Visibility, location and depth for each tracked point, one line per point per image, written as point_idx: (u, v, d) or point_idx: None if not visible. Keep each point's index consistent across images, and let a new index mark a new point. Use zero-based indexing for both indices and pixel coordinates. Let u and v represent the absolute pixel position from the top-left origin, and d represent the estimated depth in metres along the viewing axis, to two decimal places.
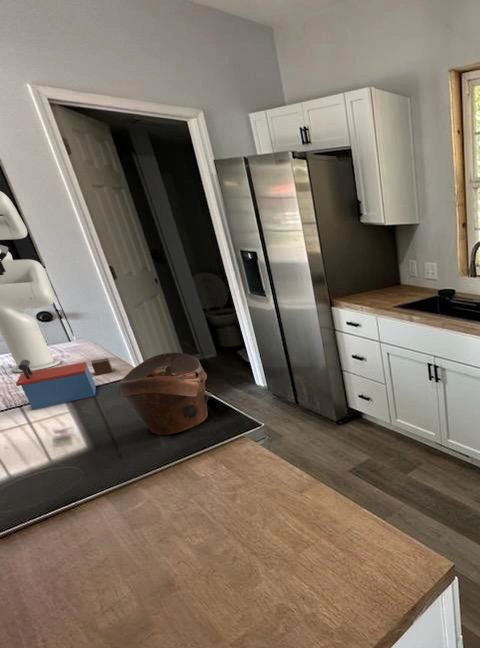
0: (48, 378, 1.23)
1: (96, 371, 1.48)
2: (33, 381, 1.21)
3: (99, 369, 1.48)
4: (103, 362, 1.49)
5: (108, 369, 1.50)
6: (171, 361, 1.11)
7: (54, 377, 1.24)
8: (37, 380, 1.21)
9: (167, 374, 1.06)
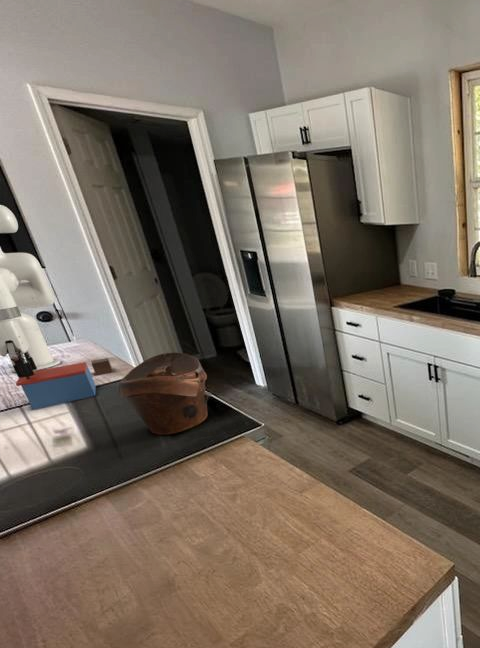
0: (48, 378, 1.23)
1: (96, 371, 1.48)
2: (33, 381, 1.21)
3: (99, 369, 1.48)
4: (103, 362, 1.49)
5: (108, 369, 1.50)
6: (171, 361, 1.11)
7: (54, 377, 1.24)
8: (37, 380, 1.21)
9: (167, 374, 1.06)
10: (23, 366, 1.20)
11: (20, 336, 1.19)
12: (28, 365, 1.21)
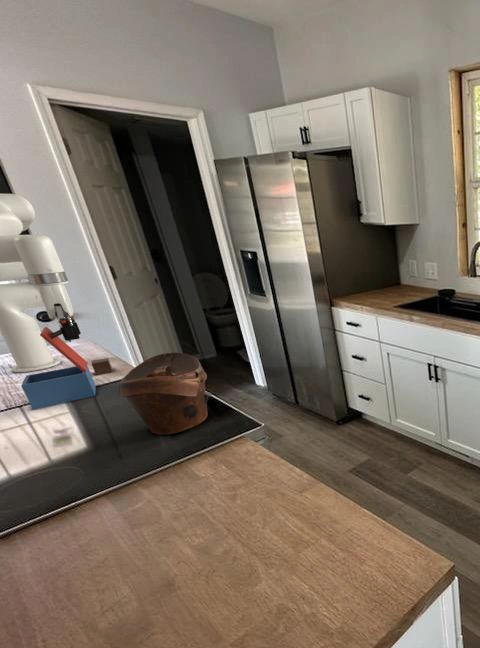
0: (62, 351, 1.23)
1: (96, 371, 1.48)
2: (52, 343, 1.22)
3: (99, 369, 1.48)
4: (103, 362, 1.49)
5: (108, 369, 1.50)
6: (171, 361, 1.11)
7: (65, 355, 1.24)
8: (55, 345, 1.22)
9: (167, 374, 1.06)
10: (70, 329, 1.24)
11: (67, 300, 1.23)
12: (74, 328, 1.25)
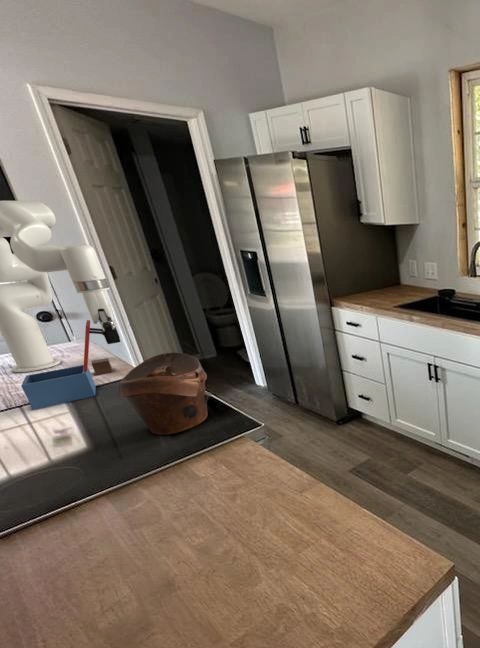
0: (87, 347, 1.27)
1: (96, 371, 1.48)
2: (87, 337, 1.26)
3: (99, 369, 1.48)
4: (103, 362, 1.49)
5: (108, 369, 1.50)
6: (171, 361, 1.11)
7: (86, 351, 1.27)
8: (87, 340, 1.26)
9: (167, 374, 1.06)
10: (112, 333, 1.31)
11: (109, 305, 1.30)
12: (116, 332, 1.32)
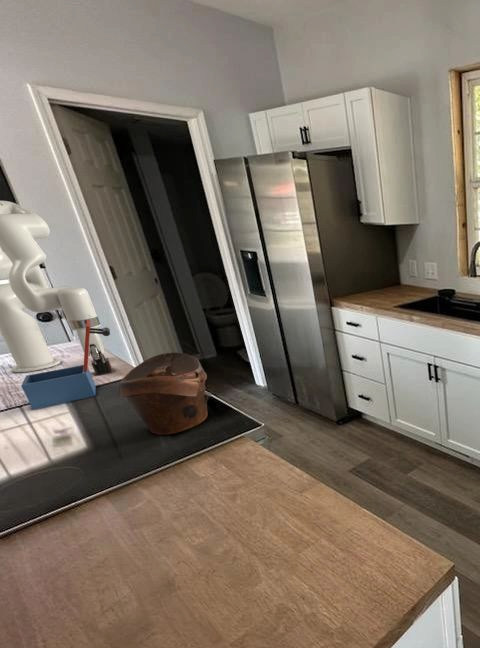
0: (87, 347, 1.27)
1: (96, 371, 1.48)
2: (87, 337, 1.26)
3: None
4: None
5: None
6: (171, 361, 1.11)
7: (86, 351, 1.27)
8: (87, 340, 1.26)
9: (167, 374, 1.06)
10: (102, 365, 1.48)
11: (100, 340, 1.46)
12: (106, 364, 1.49)
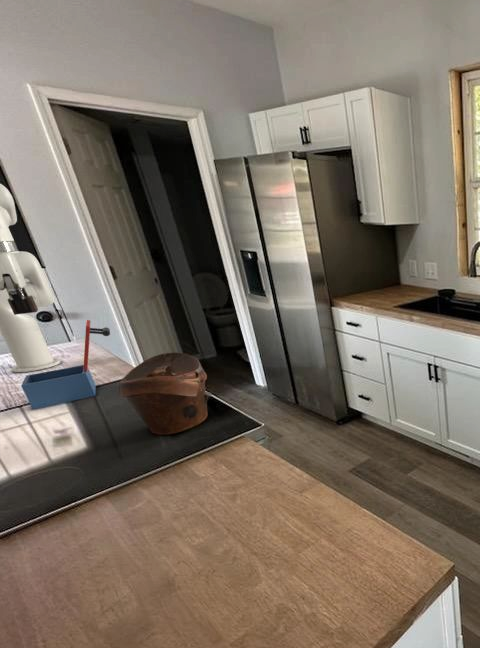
0: (87, 347, 1.27)
1: (14, 310, 1.20)
2: (87, 337, 1.26)
3: None
4: None
5: None
6: (171, 361, 1.11)
7: (86, 351, 1.27)
8: (87, 340, 1.26)
9: (167, 374, 1.06)
10: (21, 302, 1.20)
11: (17, 271, 1.18)
12: (27, 301, 1.21)
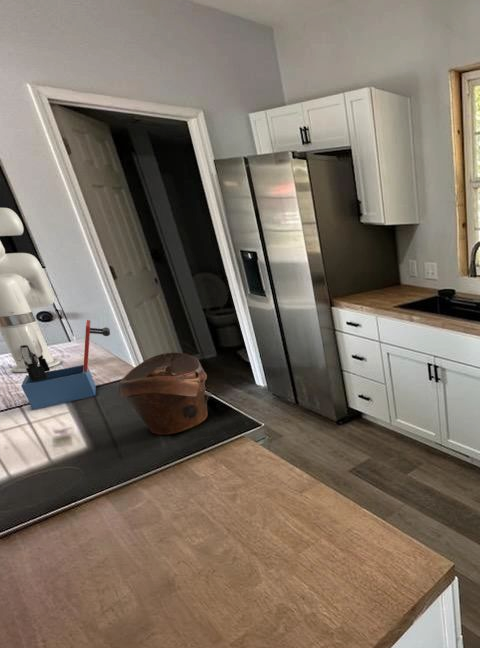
0: (87, 347, 1.27)
1: None
2: (87, 337, 1.26)
3: None
4: None
5: None
6: (171, 361, 1.11)
7: (86, 351, 1.27)
8: (87, 340, 1.26)
9: (167, 374, 1.06)
10: (36, 369, 1.21)
11: (35, 341, 1.21)
12: (42, 368, 1.22)
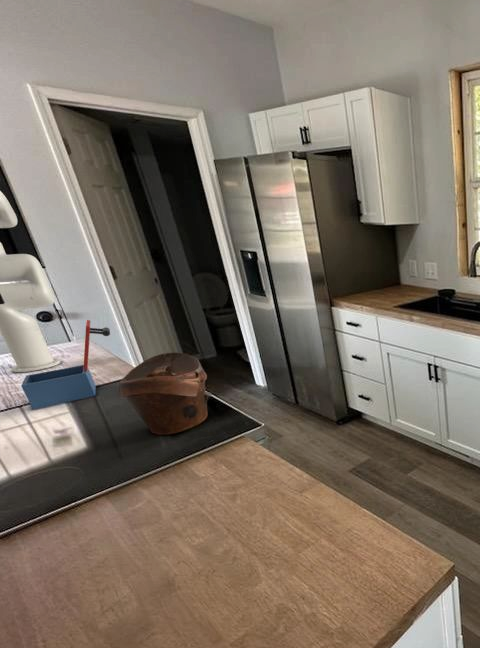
0: (87, 347, 1.27)
1: None
2: (87, 337, 1.26)
3: None
4: None
5: None
6: (171, 361, 1.11)
7: (86, 351, 1.27)
8: (87, 340, 1.26)
9: (167, 374, 1.06)
10: None
11: None
12: None
